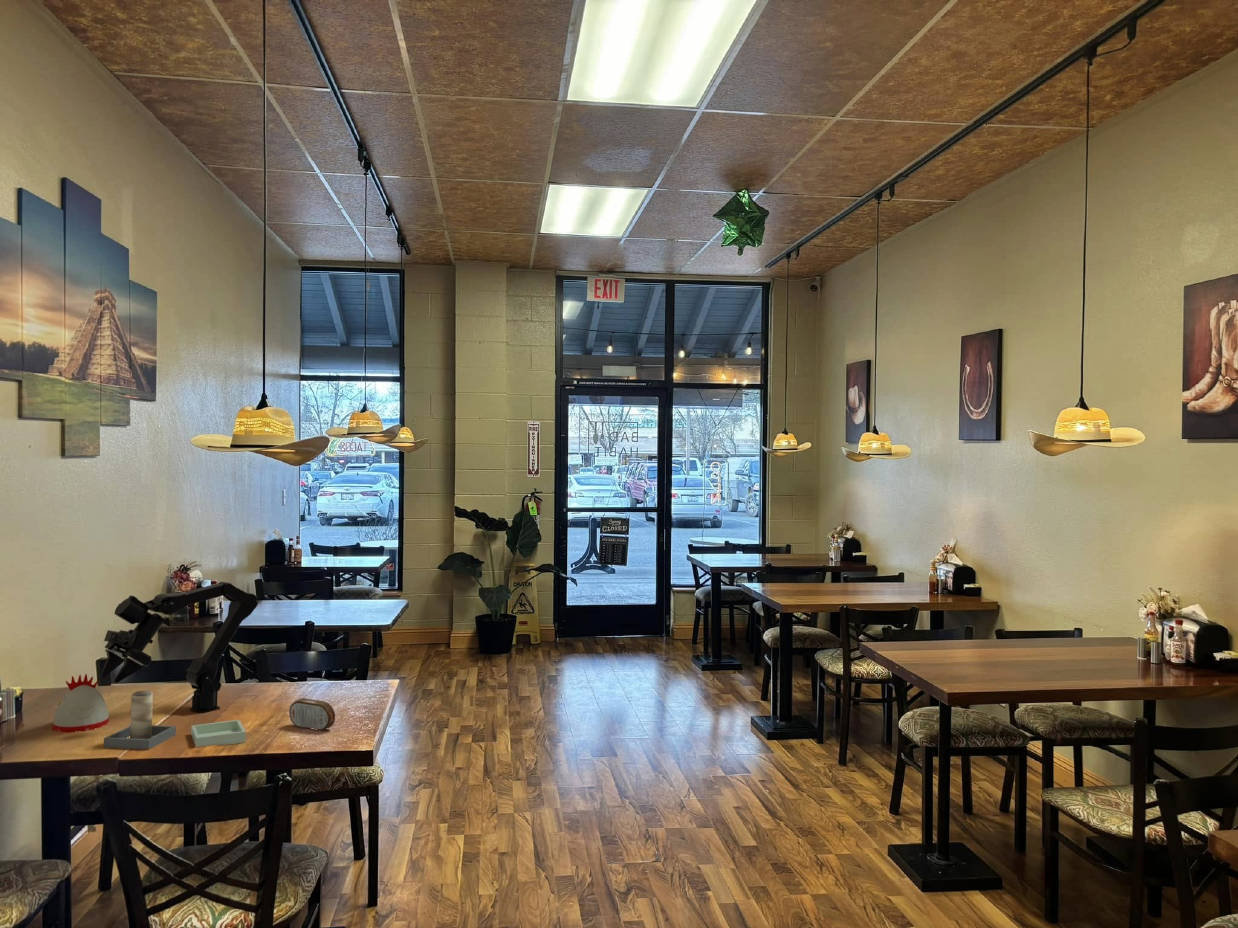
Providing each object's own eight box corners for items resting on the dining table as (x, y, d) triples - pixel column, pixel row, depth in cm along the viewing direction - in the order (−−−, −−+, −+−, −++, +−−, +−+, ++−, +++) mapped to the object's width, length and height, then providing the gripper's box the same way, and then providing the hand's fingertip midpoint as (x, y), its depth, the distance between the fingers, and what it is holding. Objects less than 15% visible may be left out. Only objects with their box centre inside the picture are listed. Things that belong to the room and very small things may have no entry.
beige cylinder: (144, 736, 235) (146, 689, 235) (155, 740, 232) (157, 692, 232) (125, 741, 230) (127, 693, 230) (136, 745, 228) (138, 696, 228)
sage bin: (191, 735, 238) (191, 725, 238) (239, 729, 245) (239, 719, 245) (195, 748, 228) (196, 737, 228) (245, 742, 234) (246, 731, 234)
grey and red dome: (51, 722, 246) (53, 672, 247) (105, 715, 255) (107, 666, 255) (54, 735, 235) (56, 682, 236) (111, 727, 244) (113, 676, 244)
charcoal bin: (132, 734, 238) (133, 724, 238) (175, 736, 237) (176, 726, 237) (103, 749, 225) (103, 737, 225) (148, 751, 225) (149, 740, 225)
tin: (335, 730, 248) (336, 701, 248) (328, 733, 245) (329, 704, 245) (294, 723, 253) (295, 696, 253) (286, 726, 250) (287, 698, 250)
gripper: (108, 614, 250) (71, 661, 243) (135, 622, 239) (97, 672, 231) (139, 632, 257) (104, 678, 250) (167, 641, 246) (131, 690, 238)
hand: (108, 679), depth 242 cm, fingers open, 9 cm apart
